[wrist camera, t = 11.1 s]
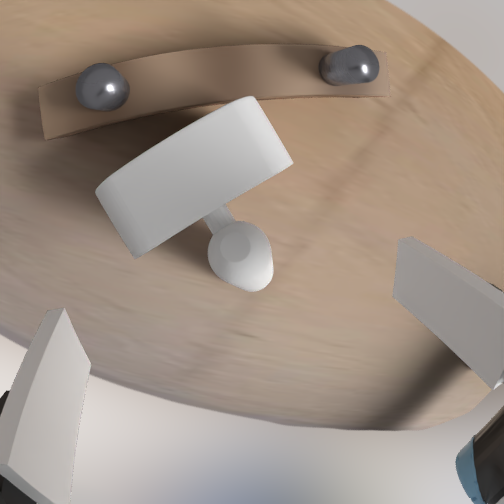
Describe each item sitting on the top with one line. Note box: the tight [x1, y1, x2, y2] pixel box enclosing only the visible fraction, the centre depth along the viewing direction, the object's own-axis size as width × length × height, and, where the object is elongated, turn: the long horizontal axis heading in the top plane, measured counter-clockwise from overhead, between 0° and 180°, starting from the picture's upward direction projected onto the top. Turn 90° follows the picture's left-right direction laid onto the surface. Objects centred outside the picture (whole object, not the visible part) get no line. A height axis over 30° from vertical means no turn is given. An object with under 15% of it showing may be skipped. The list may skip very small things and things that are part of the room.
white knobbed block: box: [95, 96, 293, 292], centre depth 17 cm, size 8×10×10 cm
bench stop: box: [38, 44, 391, 140], centre depth 15 cm, size 20×3×7 cm, turn 95°
